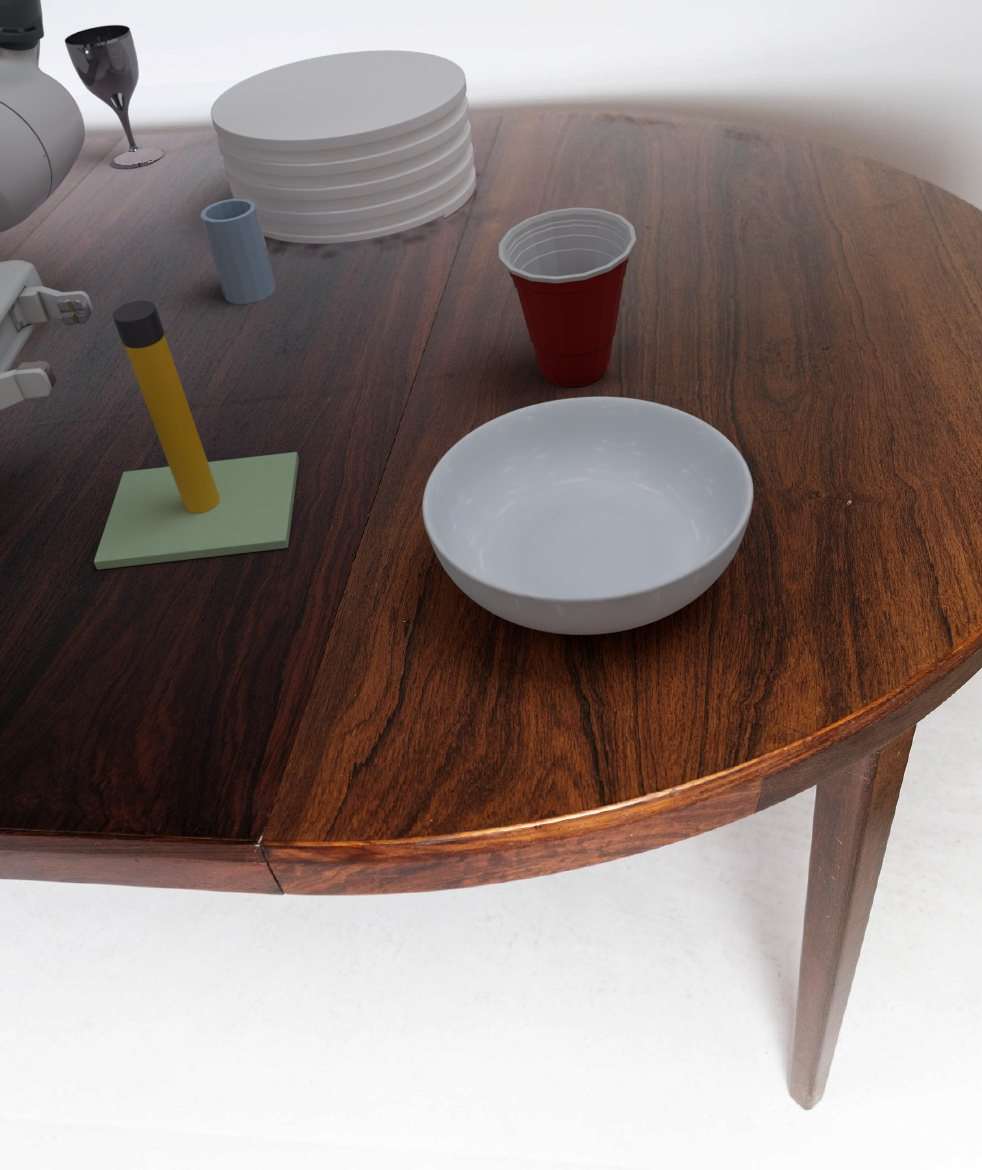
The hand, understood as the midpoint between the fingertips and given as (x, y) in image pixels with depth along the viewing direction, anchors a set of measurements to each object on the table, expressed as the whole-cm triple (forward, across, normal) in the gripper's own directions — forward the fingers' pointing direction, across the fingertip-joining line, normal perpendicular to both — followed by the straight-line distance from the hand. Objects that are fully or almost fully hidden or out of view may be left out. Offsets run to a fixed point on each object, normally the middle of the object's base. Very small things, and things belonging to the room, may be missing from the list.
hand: (70, 340), depth 70 cm
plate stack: (+13, -58, -15) cm, 62 cm away
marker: (+5, 0, -14) cm, 15 cm away
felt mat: (+5, 0, -15) cm, 16 cm away
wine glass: (-18, -78, -15) cm, 82 cm away
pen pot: (+4, -35, -15) cm, 38 cm away
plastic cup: (+34, -15, -15) cm, 40 cm away
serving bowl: (+33, +10, -15) cm, 38 cm away
